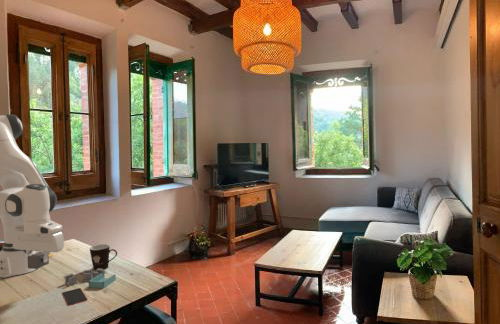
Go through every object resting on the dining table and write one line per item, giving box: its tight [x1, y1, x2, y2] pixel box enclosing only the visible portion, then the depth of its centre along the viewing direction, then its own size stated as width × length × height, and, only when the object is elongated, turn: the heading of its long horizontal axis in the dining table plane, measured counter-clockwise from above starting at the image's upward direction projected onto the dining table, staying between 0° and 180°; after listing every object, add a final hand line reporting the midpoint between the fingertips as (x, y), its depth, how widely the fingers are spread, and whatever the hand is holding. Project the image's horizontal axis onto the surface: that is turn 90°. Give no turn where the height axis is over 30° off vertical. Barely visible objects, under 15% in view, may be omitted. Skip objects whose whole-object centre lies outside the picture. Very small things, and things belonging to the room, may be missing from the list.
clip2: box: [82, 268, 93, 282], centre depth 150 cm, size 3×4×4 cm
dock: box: [88, 273, 117, 289], centre depth 145 cm, size 7×8×2 cm
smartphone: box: [61, 287, 88, 307], centre depth 134 cm, size 7×1×14 cm
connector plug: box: [27, 251, 54, 270], centre depth 138 cm, size 4×10×4 cm, turn 169°
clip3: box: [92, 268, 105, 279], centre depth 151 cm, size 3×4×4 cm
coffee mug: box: [89, 243, 118, 272], centre depth 162 cm, size 12×9×10 cm
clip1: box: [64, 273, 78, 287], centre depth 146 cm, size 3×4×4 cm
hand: (38, 261), depth 136 cm, fingers closed on connector plug, 4 cm apart
